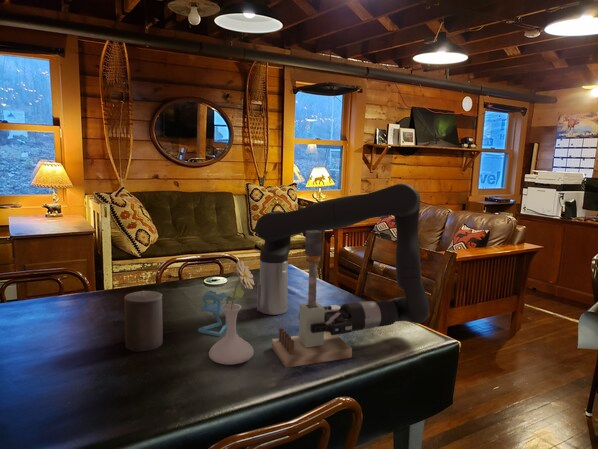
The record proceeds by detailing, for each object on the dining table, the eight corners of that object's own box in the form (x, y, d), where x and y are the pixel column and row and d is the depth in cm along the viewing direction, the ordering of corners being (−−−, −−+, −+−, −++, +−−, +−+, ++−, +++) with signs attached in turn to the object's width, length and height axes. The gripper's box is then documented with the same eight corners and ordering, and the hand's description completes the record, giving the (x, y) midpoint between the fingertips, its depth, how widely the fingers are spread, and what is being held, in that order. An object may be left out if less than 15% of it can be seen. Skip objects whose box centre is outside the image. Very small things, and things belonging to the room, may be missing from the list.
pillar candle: (127, 354, 115) (126, 298, 113) (123, 340, 123) (121, 288, 121) (166, 348, 119) (165, 294, 117) (159, 335, 128) (158, 284, 126)
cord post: (286, 367, 109) (287, 237, 104) (271, 347, 121) (272, 229, 116) (351, 357, 116) (356, 234, 111) (332, 339, 127) (335, 226, 122)
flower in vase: (234, 373, 106) (233, 271, 102) (199, 361, 112) (197, 264, 108) (266, 353, 117) (267, 260, 113) (233, 343, 123) (232, 254, 119)
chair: (235, 327, 135) (235, 288, 133) (219, 336, 127) (219, 296, 125) (214, 322, 138) (214, 285, 136) (197, 332, 130) (197, 292, 129)
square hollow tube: (305, 347, 115) (306, 310, 113) (298, 340, 119) (299, 304, 118) (323, 345, 116) (324, 308, 115) (316, 337, 121) (317, 302, 119)
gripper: (348, 295, 128) (295, 300, 122) (373, 311, 115) (315, 318, 109) (347, 320, 129) (295, 326, 123) (372, 339, 116) (314, 347, 110)
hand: (304, 322), depth 116 cm, fingers open, 8 cm apart
